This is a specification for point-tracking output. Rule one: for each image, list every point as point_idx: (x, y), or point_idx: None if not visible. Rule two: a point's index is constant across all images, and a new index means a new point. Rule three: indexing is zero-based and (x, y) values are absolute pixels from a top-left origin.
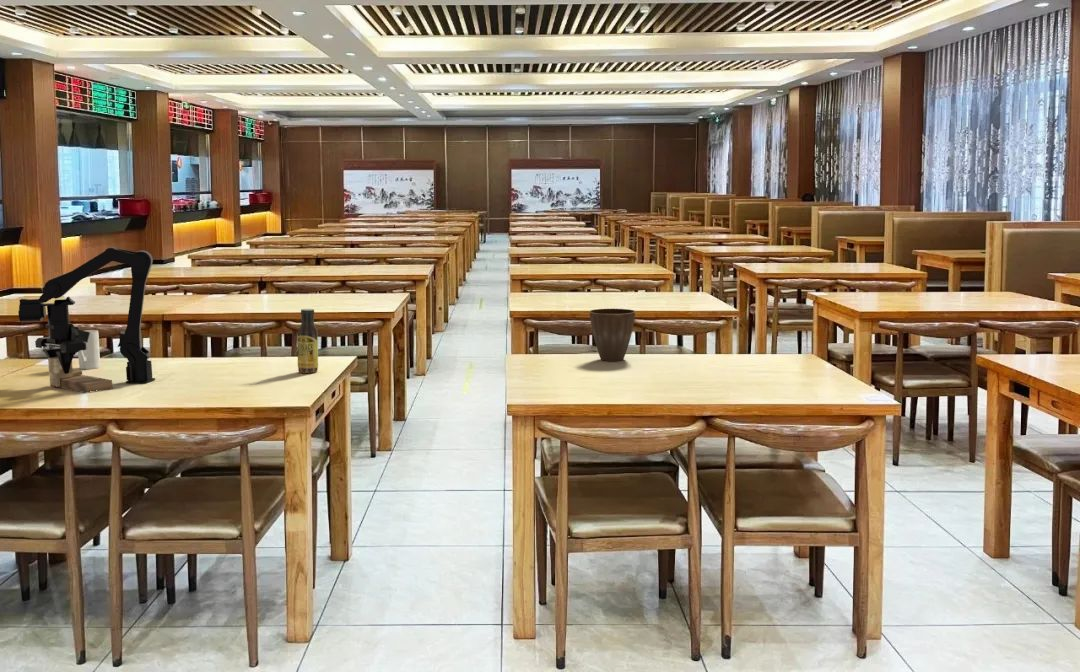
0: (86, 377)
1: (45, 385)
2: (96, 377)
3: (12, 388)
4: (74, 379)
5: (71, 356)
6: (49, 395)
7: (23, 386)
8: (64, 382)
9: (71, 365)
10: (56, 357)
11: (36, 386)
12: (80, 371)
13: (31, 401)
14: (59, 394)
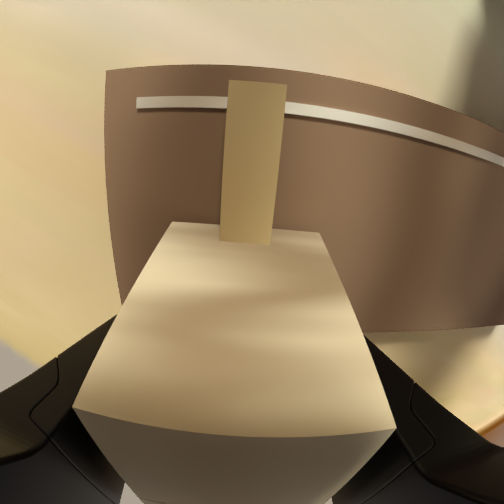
0: (432, 165)
1: (100, 283)
2: (498, 134)
3: None
4: (405, 279)
5: (466, 458)
6: None
7: (57, 341)
8: None
9: (351, 320)
10: (179, 495)
11: (97, 321)
12: (284, 108)
13: None
14: (423, 371)
